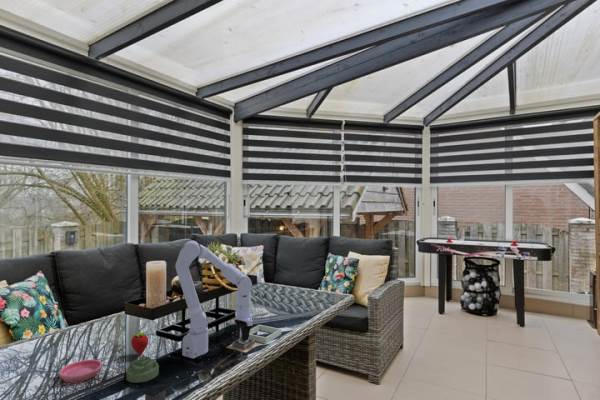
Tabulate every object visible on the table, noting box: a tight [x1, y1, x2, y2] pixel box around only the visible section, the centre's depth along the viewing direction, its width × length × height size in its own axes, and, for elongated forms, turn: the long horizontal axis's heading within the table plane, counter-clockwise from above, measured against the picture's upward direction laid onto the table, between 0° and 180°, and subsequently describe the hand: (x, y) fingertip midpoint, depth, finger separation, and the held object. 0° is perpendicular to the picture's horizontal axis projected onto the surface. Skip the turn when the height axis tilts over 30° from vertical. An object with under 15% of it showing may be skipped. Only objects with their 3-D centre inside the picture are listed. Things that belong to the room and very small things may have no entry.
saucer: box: [58, 359, 103, 384], centre depth 114 cm, size 12×12×3 cm
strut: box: [237, 329, 249, 345], centre depth 138 cm, size 4×4×8 cm
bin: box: [248, 324, 282, 344], centre depth 147 cm, size 12×12×3 cm
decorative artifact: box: [125, 354, 160, 384], centre depth 115 cm, size 10×7×10 cm
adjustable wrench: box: [227, 309, 269, 326], centre depth 175 cm, size 25×6×2 cm, turn 133°
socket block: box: [225, 338, 262, 353], centre depth 137 cm, size 10×10×2 cm
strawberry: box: [130, 329, 149, 356], centre depth 130 cm, size 6×8×10 cm
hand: (243, 338), depth 137 cm, fingers closed on strut, 3 cm apart
